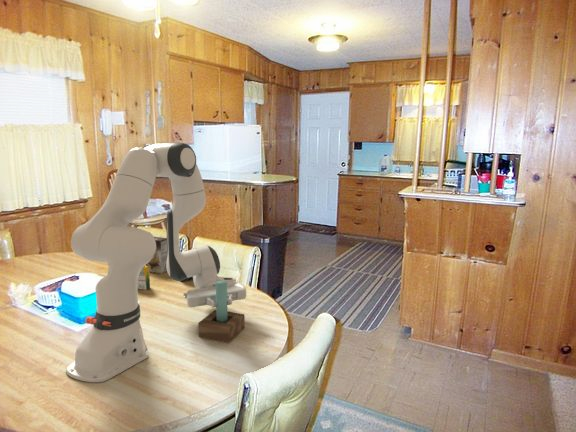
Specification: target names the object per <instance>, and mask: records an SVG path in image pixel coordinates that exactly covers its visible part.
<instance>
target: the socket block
mask: <svg viewBox="0 0 576 432" xmlns="http://www.w3.org/2000/svg"><path fill="white" fill-rule="evenodd" d="M227 315H228V322H227V323H220V322H217V318H216V309H214V310H213V311H212V312H211V313H209V314H208V315H207V316H205V317H204V318H203V319H201V320H200V321H198V337H199V338H201V339H202V338H203V339H206V340H207V339H208V340H212V341H217V342H221V343H227V344H230V343H231V342H232V341H233V340H234V339H235V338H236V337H237V336H238V335H239V334H240V333H241V332H242V331H243V330H244V329H245V325H246V324H245V321H246V320H245V314H244V313H240V312H233V311H228V310H227Z"/></svg>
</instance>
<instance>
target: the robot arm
mask: <svg viewBox="0 0 576 432" xmlns="http://www.w3.org/2000/svg"><path fill="white" fill-rule="evenodd" d="M156 177H158V178H160V177H161V178H168V179H169V180H170V182H171V183H170V184H171V191H172V192H171V193H172V199H173V201H172V204H171V208H170V209H169V210H167V212H166V213H167V214H166V223H165V224H166V225H165V226H166V238H167V263H166V269H167V271H166V272H167V275H168V277H169V278H170V279H172V280H174V281H177V282H183V281H182V280H184V279H187V278H189V277H192V276H193V279H192V280H193V284H194V287H195V288H194V289H189V290H187V292H185V293H183V295H182V296H183V298H184V299H186V303H187V307H189V308H196V307H197V308H198V307H204V306H209V307H212V308H216V307H217V301H216V282H217V281H226V282H227V306H230V305H233V301H239V300H244V299H246V298H247V288H246V287H245V285H244V284H242V283H241V282H239V281H237V279H236V278H235V277H225V276H223V277H222V276H218V275H219V274H220V271H221V262H220V257H219V256H218V255H219V254H217V253H218V252H217V251H216V250H215V249H214V248H213V247H211V246H210V245H204V246H198V247H195V248H193V249H189V250H185V251H180V231H181V228H183V226H184V225H185V224H186V223H188V222H189V221H190V220H192V219H194V218H195V217H197V216H198V215H199V214H200V213H201V212H202V211H203V210H204V208H205V206H206V203H207V198H206V191H205V185H204V181H203V178H202V175H201V172H200V169H199V167H198V164H197V157H196V152H195V151H194V149H193V148H192V147H191V146H190V145H189V144H188V143H185V142H159V143H154V144H146V145H144V146H141V147H133V148H131V149H130V150H128V152H127V153H126V154H125V156H124V157H123V159H122V161H121V163H120V164H119V167H118V169H117V171H116V174H115V177H114V179H113V182H112V185H111V187H110V190H109V192H108V195H107V197H106V199H105V201H104V202H103V204H102V206H101V207H99V209H98V210H97V212H96V213H95V214H94V215H93V216H92V217H91V218H90V219H89V220H88V221H87V222H85V223H83V224H81V225H79V226H77V228H76V229H75V230H74V232H72V235H71V237H70V247H71V250H72V251H73V253H74V254H75V255H76V256H78V257H80V258H83V259H84V260H87V261H90V262H97V263H105V264H106V265H107V266H108V267H107V269H108V271H107V274H106V275H105V276H103V277H102V278H100V279H99V281H98V282H97V283H96V286H95V295H96V296H95V297H96V311H95V313H94V316H87V317H86V318H85V322H84V323H85V324H87V325H88V324H90V325H93V326H92V327H91V328H90V330H89V331H88V332H87V334H86V336H85V337H84V338H83V339H82V340H81V342H80V343H79V344H78V346H77V347H76V348H75V355H74V361H72V362H71V363H70V364H69V365H68V366H66V369H65V373H66V374H67V376H69V377H71V378H73V379H75V380H77V381H83V382H86V383H103V382H106V381H108V380H111V378H114V377H115V376H117V375H119V374H120V373H123V372H124V371H126V370H128V369H129V368H132V367H133V366H135V365H137V364H139V363H141V362H142V361H144V360H145V359H148V357H149V353H148V351H147V344H146V341H145V337H144V333H143V329H142V325H141V320H140V318H141V307H140V304H139V298H138V297H139V296H138V293H139V292H138V289H137V283H138V277H139V274H140V272H141V270H142V268H143V267H144V266H146V264H147V263H149V262H150V261H151V259H152V258H153V256H154V254H155V251H156V242H155V239H154V237H155V236H154V235H153V234H152V233H151V232H150V231H147V230H145V229H142V228H140V227H136V226H129V224H130V223H131V222H132V221H134V220H135V219H136V218H139V217H141V216H142V215H144V213H145V212H146V211H147V208H148V205H149V202H150V198H151V196H152V192H153V189H154V186H155V181H156V179H157V178H156Z"/></svg>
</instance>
